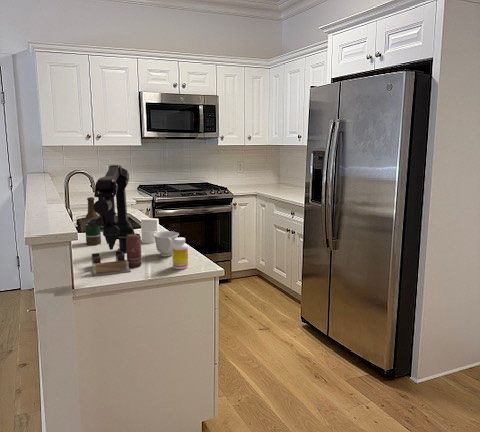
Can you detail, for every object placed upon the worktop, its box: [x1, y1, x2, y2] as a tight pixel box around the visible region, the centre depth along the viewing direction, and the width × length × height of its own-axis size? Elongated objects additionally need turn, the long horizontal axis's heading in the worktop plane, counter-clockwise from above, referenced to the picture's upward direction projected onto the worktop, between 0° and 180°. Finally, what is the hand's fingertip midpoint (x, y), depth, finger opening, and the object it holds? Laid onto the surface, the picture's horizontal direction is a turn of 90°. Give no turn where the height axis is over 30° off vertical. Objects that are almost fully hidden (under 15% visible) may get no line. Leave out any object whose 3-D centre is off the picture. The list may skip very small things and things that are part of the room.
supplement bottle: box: [171, 236, 189, 270], centre depth 192 cm, size 7×7×13 cm
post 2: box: [115, 250, 126, 261], centre depth 195 cm, size 6×3×6 cm, turn 23°
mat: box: [91, 268, 131, 278], centre depth 186 cm, size 6×15×1 cm, turn 113°
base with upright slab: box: [140, 217, 160, 245], centre depth 233 cm, size 9×9×12 cm
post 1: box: [91, 252, 102, 267], centre depth 191 cm, size 6×3×6 cm, turn 23°
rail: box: [92, 259, 130, 274], centre depth 186 cm, size 3×14×3 cm, turn 113°
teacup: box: [153, 230, 180, 257], centre depth 209 cm, size 12×15×10 cm
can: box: [126, 232, 142, 269], centre depth 193 cm, size 6×6×14 cm
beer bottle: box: [84, 196, 102, 246], centre depth 226 cm, size 8×8×24 cm
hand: (109, 246), depth 184 cm, fingers open, 9 cm apart
